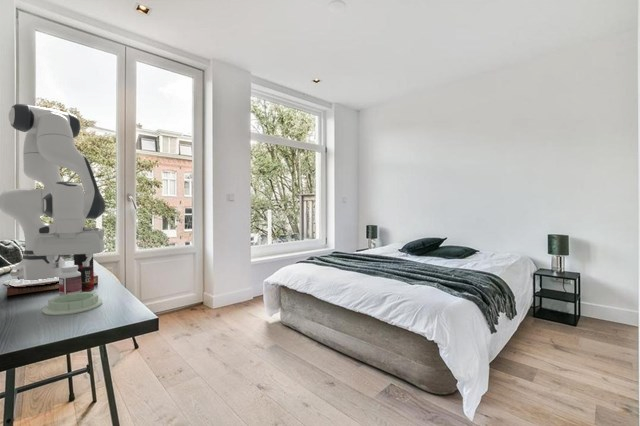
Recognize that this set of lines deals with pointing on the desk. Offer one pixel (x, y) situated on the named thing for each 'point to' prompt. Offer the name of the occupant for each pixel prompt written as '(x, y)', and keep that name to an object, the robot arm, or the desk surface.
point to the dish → (72, 303)
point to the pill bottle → (69, 280)
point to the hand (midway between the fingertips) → (70, 267)
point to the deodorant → (85, 272)
